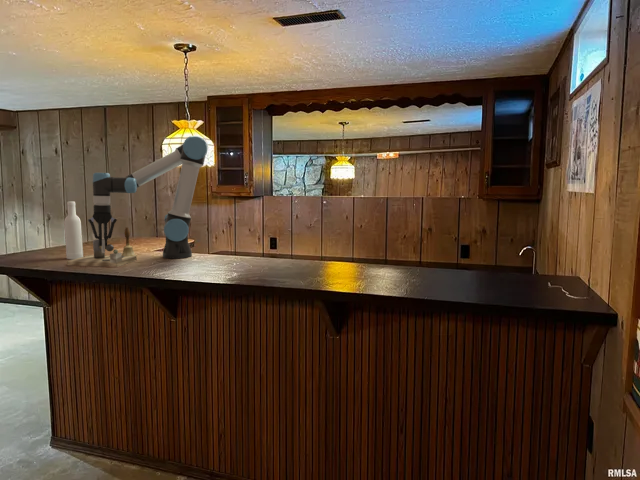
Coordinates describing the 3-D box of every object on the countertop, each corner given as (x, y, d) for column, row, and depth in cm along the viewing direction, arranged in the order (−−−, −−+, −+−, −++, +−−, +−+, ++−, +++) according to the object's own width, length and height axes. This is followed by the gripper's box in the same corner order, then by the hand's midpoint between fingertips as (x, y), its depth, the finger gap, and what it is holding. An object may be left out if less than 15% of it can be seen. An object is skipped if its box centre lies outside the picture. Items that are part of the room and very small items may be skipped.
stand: (136, 260, 235) (135, 244, 234) (117, 266, 217) (116, 250, 216) (89, 258, 238) (88, 243, 237) (67, 265, 220) (65, 249, 219)
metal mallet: (92, 257, 229) (90, 240, 228) (101, 256, 233) (100, 239, 232) (107, 260, 220) (106, 242, 219) (117, 259, 224) (116, 241, 223)
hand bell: (116, 257, 243) (115, 227, 241) (127, 254, 251) (126, 226, 249) (129, 258, 241) (128, 228, 239) (140, 255, 249) (138, 226, 247)
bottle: (67, 257, 242) (63, 201, 238) (83, 256, 245) (80, 201, 241) (65, 259, 235) (61, 202, 231) (83, 258, 238) (79, 201, 234)
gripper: (114, 204, 227) (115, 250, 230) (86, 204, 220) (88, 252, 223) (117, 205, 221) (118, 252, 223) (88, 205, 214) (89, 254, 216)
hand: (103, 252), depth 223 cm, fingers closed
